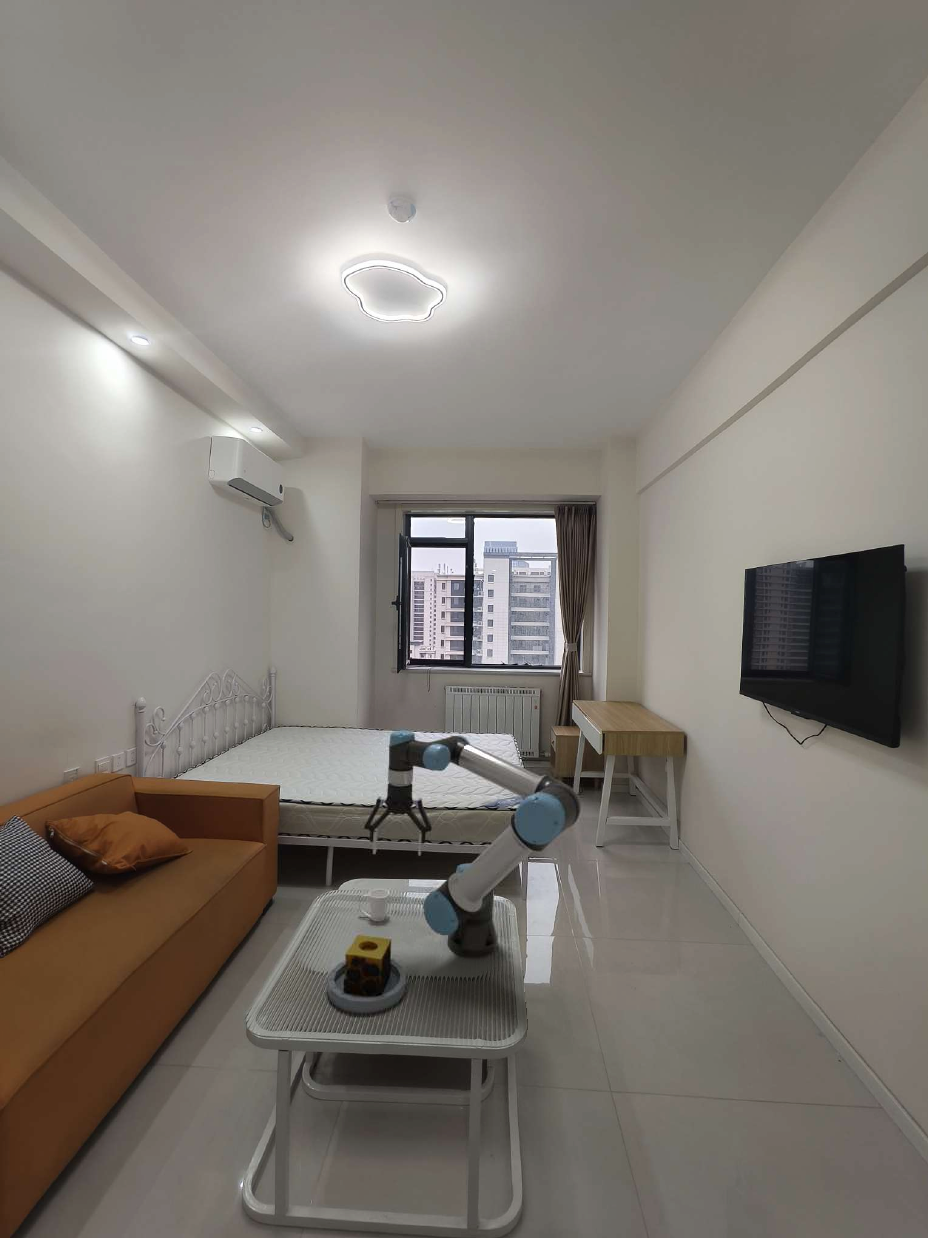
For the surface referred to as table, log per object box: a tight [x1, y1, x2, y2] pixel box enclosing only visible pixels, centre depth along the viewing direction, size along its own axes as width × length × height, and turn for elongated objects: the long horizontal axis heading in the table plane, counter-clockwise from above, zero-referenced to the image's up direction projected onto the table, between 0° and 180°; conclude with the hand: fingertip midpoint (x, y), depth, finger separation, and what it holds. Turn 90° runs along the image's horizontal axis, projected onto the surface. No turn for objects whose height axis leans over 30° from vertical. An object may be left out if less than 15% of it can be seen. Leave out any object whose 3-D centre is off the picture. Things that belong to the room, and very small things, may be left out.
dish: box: [326, 958, 407, 1015], centre depth 154 cm, size 20×20×3 cm
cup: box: [358, 888, 391, 922], centre depth 191 cm, size 7×10×8 cm
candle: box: [343, 934, 392, 997], centre depth 154 cm, size 10×10×10 cm
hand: (397, 853), depth 177 cm, fingers open, 13 cm apart
